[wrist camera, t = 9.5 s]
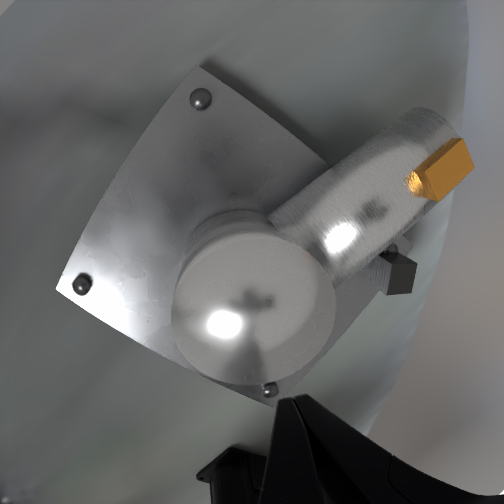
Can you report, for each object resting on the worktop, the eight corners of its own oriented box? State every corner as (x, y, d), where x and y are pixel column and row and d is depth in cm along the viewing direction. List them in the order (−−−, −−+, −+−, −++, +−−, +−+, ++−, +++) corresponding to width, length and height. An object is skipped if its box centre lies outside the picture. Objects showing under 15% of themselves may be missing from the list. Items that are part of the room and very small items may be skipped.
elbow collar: (230, 341, 20) (242, 410, 14) (155, 262, 18) (134, 315, 12) (426, 188, 19) (494, 207, 13) (377, 96, 17) (443, 82, 11)
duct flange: (274, 400, 24) (283, 430, 21) (61, 283, 19) (40, 305, 15) (407, 244, 21) (435, 259, 18) (196, 69, 16) (194, 51, 13)
